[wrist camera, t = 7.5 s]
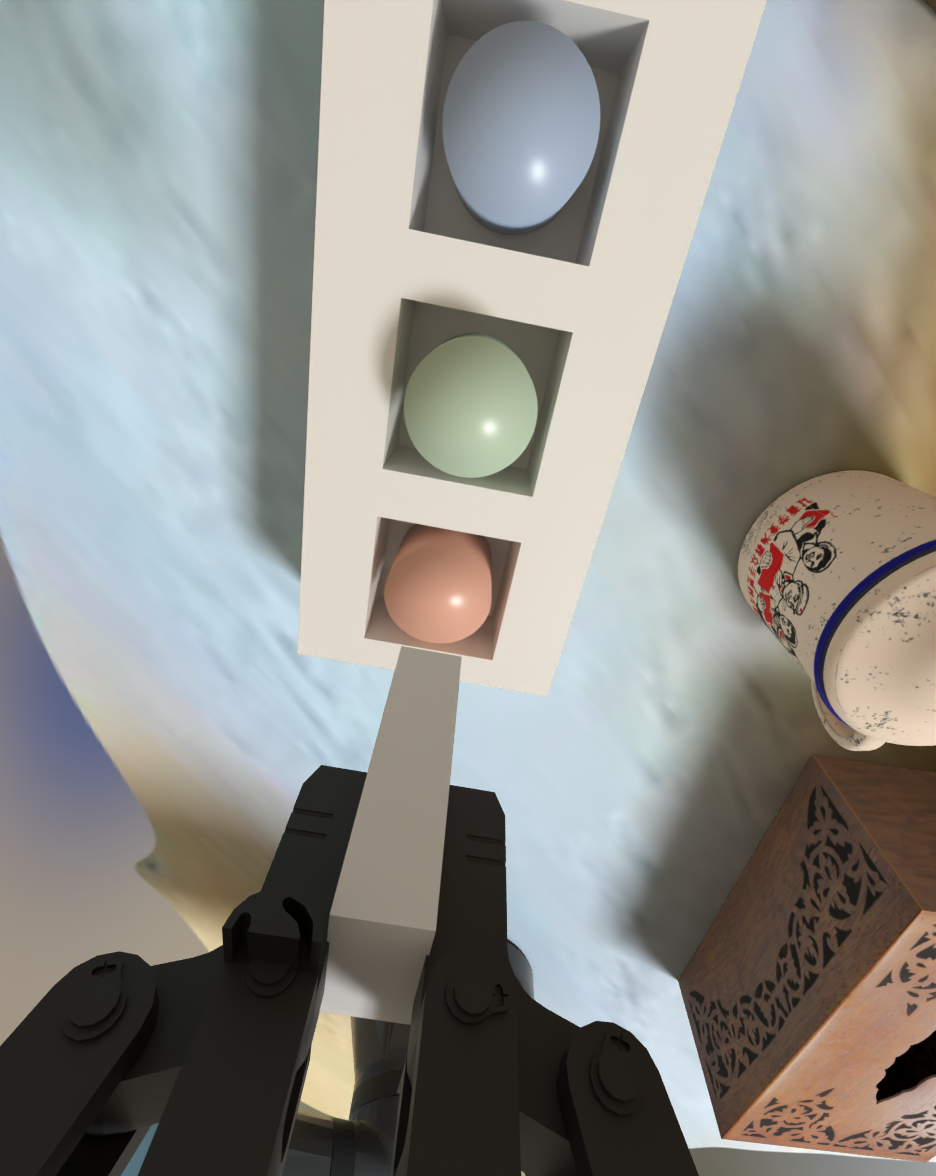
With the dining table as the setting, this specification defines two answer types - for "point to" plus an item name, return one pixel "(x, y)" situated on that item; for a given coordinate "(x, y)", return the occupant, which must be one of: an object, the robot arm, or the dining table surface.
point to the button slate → (520, 126)
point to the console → (493, 307)
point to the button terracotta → (440, 584)
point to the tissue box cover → (828, 971)
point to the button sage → (471, 406)
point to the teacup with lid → (853, 601)
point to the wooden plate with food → (932, 3)
